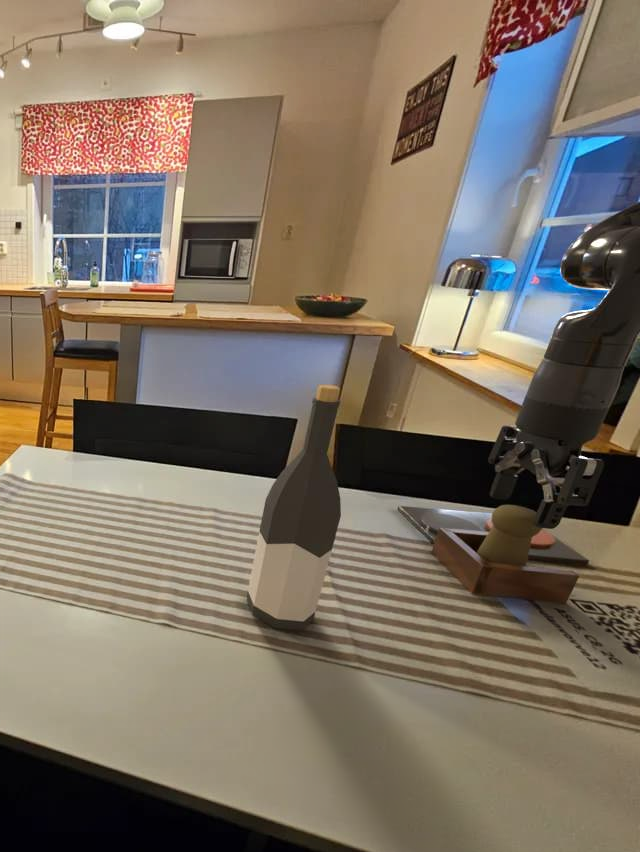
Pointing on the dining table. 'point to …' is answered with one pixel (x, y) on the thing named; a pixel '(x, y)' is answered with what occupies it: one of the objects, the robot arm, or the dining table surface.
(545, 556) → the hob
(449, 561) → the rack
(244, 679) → the dining table surface
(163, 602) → the dining table surface
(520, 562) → the olive knobbed cone
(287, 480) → the wine bottle
